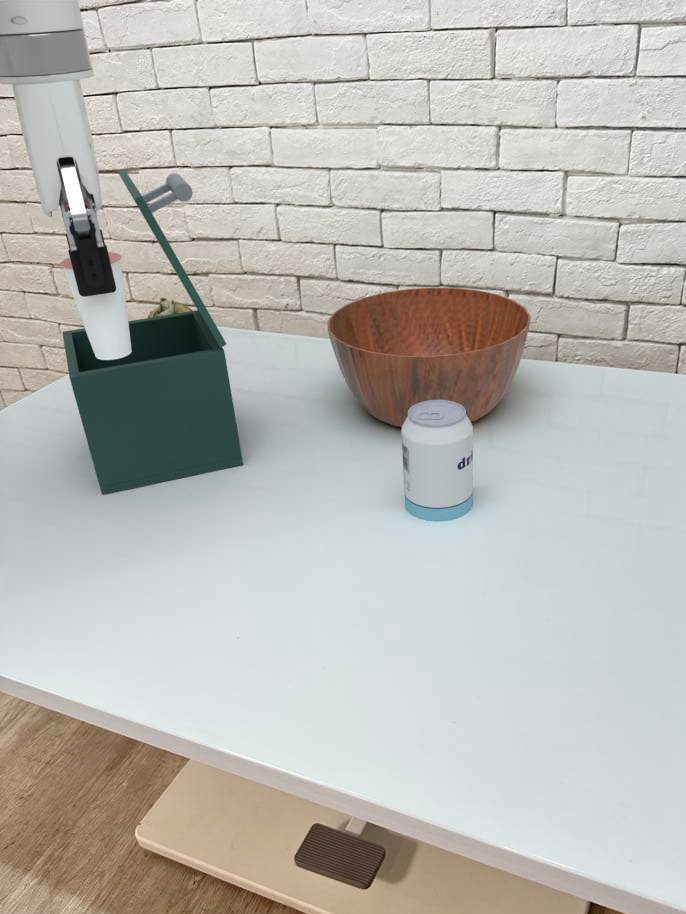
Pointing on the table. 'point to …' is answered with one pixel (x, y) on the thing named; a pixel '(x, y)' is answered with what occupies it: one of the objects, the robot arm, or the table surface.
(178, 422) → the cooler
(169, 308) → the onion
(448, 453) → the beverage can
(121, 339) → the cup
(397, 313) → the bowl
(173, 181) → the lid
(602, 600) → the table surface
